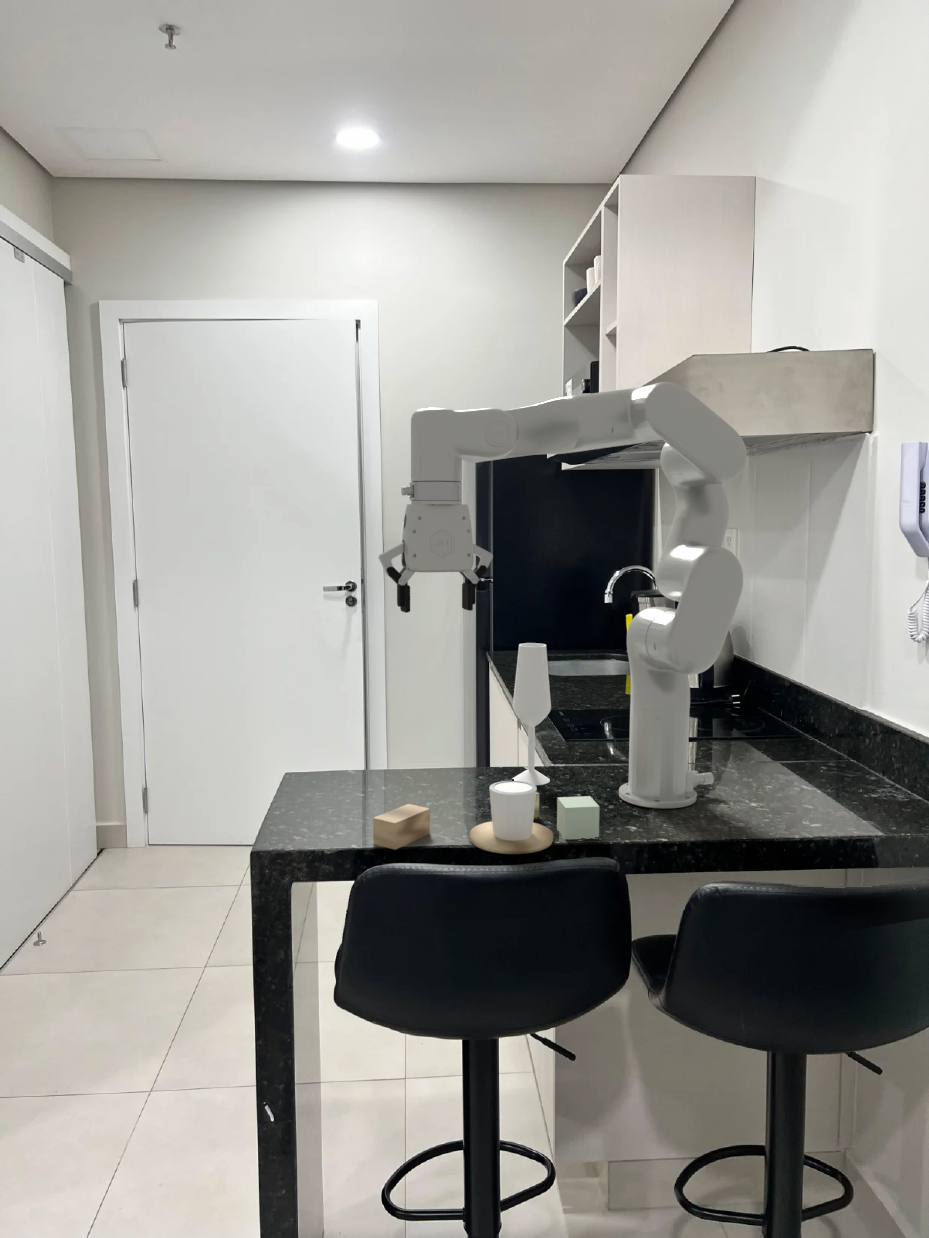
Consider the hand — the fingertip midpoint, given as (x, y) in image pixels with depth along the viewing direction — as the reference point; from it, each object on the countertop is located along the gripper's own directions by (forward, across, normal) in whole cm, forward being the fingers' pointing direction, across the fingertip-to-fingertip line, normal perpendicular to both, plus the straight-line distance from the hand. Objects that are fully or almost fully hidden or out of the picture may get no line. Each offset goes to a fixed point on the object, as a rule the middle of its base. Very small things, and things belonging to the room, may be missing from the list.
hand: (436, 610), depth 140 cm
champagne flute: (+32, +22, +16) cm, 42 cm away
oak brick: (+32, -7, -6) cm, 34 cm away
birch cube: (+32, +13, -2) cm, 35 cm away
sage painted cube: (+32, +18, -12) cm, 39 cm away
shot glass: (+32, +8, -11) cm, 35 cm away
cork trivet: (+32, +8, -11) cm, 35 cm away
